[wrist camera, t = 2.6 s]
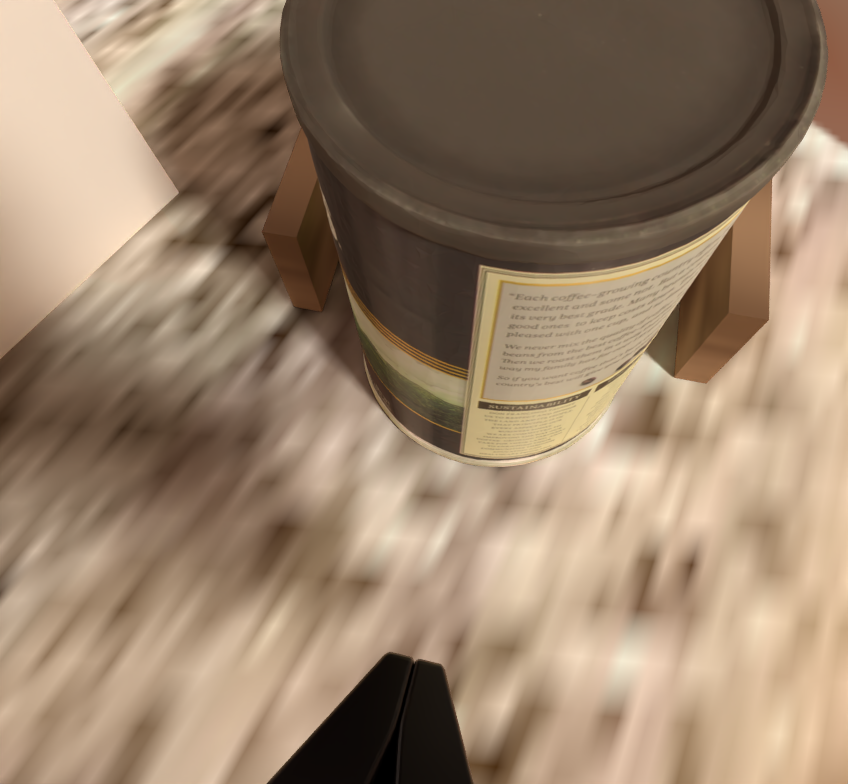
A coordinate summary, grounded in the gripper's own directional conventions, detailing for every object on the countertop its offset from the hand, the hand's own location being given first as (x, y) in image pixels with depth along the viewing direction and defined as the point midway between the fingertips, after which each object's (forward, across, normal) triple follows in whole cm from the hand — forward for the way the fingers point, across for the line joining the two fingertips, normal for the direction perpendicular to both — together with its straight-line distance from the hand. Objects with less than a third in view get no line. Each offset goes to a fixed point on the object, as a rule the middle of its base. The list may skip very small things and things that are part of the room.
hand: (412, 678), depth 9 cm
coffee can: (+17, 0, 0) cm, 17 cm away
